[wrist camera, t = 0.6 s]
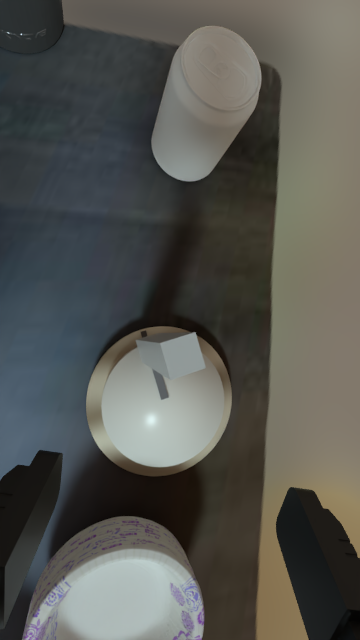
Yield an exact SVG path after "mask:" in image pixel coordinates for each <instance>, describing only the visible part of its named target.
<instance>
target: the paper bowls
mask: <svg viewBox="0 0 360 640" xmlns="http://www.w3.org/2000/svg"><path fill="white" fill-rule="evenodd" d="M203 628H204V605H203V599H202V594H201V590H200V587H199V585H198V582H197V580H196V578H195V576H194V573H193V570H192V568H191V566H190V564H189V561H188V559H187V556H186V554H185V552H184V550H183V548H182V547H181V545H180V544H179V542H178V540H177V539H176V538H175V537H174V535H173V534H172V533H171V532H170V531H168V530H167V529H166V528H165V527H164V526H161V525H160V524H158V523H155V522H154V521H151V520H148V519H144V518H141V517H134V516H120V517H114V518H110V519H106V520H104V521H101V522H98V523H96V524H94V525H92V526H89V527H88V528H86V529H84V530H82V531H81V532H79V533H78V534H76V535H75V536H73V537H72V538H71V539H70V540H69V541H67V542H66V543H65V544H64V545H63V547H61V548H60V549H59V550H58V552H57V553H56V554H55V555H54V556H53V557H52V559H51V560H50V561H49V563H48V564H47V566H46V567H45V569H44V571H43V573H42V574H41V576H40V578H39V580H38V583H37V585H36V588H35V591H34V594H33V596H32V600H31V603H30V607H29V612H28V615H27V620H26V625H25V629H24V633H23V638H22V640H202V636H203Z"/></svg>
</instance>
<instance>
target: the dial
mask: <svg viewBox="0 0 360 640" xmlns="http://www.w3.org/2000/svg"><path fill="white" fill-rule="evenodd" d="M136 344H137V347H136V348H134V349H132V350H131V351H129V352H128V353H126V354H125V355H124V356H123V357H122V358H121V359H120V360H119V361H118V362H117V363H116V365H115V366H114V367H113V369H112V370H111V372H110V373H109V376H108V378H107V380H106V382H105V385H104V389H103V394H102V404H101V408H102V418H103V423H104V427H105V429H106V432H107V434H108V436H109V438H110V440H111V441H112V443H113V444H114V445H115V447H116V448H117V449H118V450H119V451H120V452H121V453H122V454H123V455H125V456H126V457H127V458H129V459H131V460H132V461H134V462H136V463H139V464H142V465H145V466H150V467H169V466H174V465H177V464H180V463H183V462H185V461H187V460H189V459H191V458H193V457H194V456H196V455H197V454H198V453H199V452H201V451H202V450H203V449H204V448H205V447H206V446H207V445H208V444H209V442H210V441H211V440H212V438H213V437H214V435H215V433H216V431H217V430H218V427H219V425H220V422H221V419H222V415H223V410H224V390H223V385H222V381H221V378H220V376H219V374H218V372H217V370H216V368H215V366H214V365H213V363H212V362H211V361H210V360H209V359H208V358H207V356H205V355H204V354H203V353H202V352H201V350H200V346H199V343H198V339H197V336H196V332H180V333H156V334H153V335H150V336H146V337H143V338H140V339H137V340H136Z"/></svg>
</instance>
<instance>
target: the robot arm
mask: <svg viewBox="0 0 360 640" xmlns="http://www.w3.org/2000/svg"><path fill="white" fill-rule="evenodd" d="M63 23H64V21H63V10H62V0H0V47H2V48H4V49H7V50H9V51H13V52H17V53H26V54H31V53H38V52H41V51H44V50H46V49H48V48H50V47H51V46H52V45H54V44H55V42H56V41H57V40H58V39H59V37H60V35H61V33H62V30H63ZM62 459H63V454H62V453H57V452H50V451H43V450H39V451H38V453H37V454H36V456H35V457H34V459H33V461H32V463H31V464H30V466H24V465H17V466H16V467H15V468H13V469H12V470H11V471H9V472H8V473H7V474H6V475H4V476H3V478H2V479H1V481H0V629H4V628H5V626H6V623H7V621H8V618H9V616H10V614H11V611H12V609H13V606H14V604H15V602H16V599H17V597H18V594H19V592H20V590H21V587H22V585H23V582H24V580H25V578H26V575H27V573H28V570H29V568H30V566H31V563H32V561H33V558H34V556H35V554H36V551H37V549H38V546H39V544H40V542H41V539H42V537H43V534H44V532H45V529H46V527H47V525H48V522H49V520H50V517H51V515H52V513H53V510H54V508H55V505H56V502H57V499H58V495H59V490H60V482H61V471H62ZM276 532H277V538H278V541H279V544H280V548H281V551H282V554H283V558H284V561H285V564H286V567H287V571H288V574H289V577H290V580H291V584H292V587H293V590H294V593H295V596H296V600H297V603H298V606H299V609H300V613H301V616H302V619H303V622H304V625H305V629H306V632H307V635H308V638H309V640H360V558H358V557H357V553H356V551H355V549H354V547H353V545H352V544H350V540H349V538H348V536H347V534H346V532H345V530H344V528H343V526H342V524H341V523H340V522H339V521H338V520H337V519H336V517H335V516H334V515H333V514H332V513H331V512H330V511H329V510H328V509H324V508H323V507H322V506H321V503H320V501H319V499H318V497H317V495H316V494H315V492H314V491H312V490H307V489H300V488H294V487H291V488H289V490H288V491H287V494H286V497H285V499H284V502H283V504H282V507H281V509H280V512H279V515H278V517H277V522H276Z"/></svg>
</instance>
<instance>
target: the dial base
mask: <svg viewBox="0 0 360 640" xmlns="http://www.w3.org/2000/svg"><path fill="white" fill-rule="evenodd" d="M180 332H189V331H187V330H183V329H180V328H175V327H167V326H159V327H149V328H145V329H141V330H138V331H135V332H133V333H130V334H128V335H127V336H125V337H123V338H121V339H120V340H119V341H117V342H116V343H115V344H114V345H112V346H111V347H110V348H109V349H108V350H107V351H106V353H105V354H104V355H103V356H102V357H101V359H100V360H99V362H98V364H97V365H96V367H95V369H94V371H93V373H92V376H91V379H90V382H89V386H88V392H87V399H86V411H87V419H88V424H89V428H90V430H91V433H92V436H93V438H94V440H95V441H96V443H97V445H98V447H99V448H100V449H101V450H102V452H103V453H104V454H105V455H106V456H107V457H108V458H109V459H110V460H111V461H112V462H114V463H115V464H116V465H118V466H119V467H121V468H123V469H125V470H127V471H130V472H132V473H135V474H139V475H144V476H166V475H171V474H175V473H178V472H181V471H183V470H186V469H187V468H189V467H191V466H193V465H195V464H196V463H198V462H199V461H200V460H202V459H203V458H204V457H205V456H206V455H207V454H208V453H209V452H210V451H211V450H212V449H213V448H214V447H215V445H216V444H217V442H218V441H219V439H220V438H221V436H222V434H223V432H224V430H225V428H226V425H227V423H228V419H229V415H230V411H231V404H232V392H231V384H230V379H229V375H228V372H227V370H226V367H225V365H224V363H223V361H222V359H221V358H220V356H219V355H218V353H217V352H216V351H215V350H214V349H213V348H212V346H211V345H209V344H208V343H207V342H206V341H205V340H203V339H202V338H200V337H199V336H197V335H196V336H197V339H198V343H199V346H200V350H201V352H202V353H203V354H204V355H205V356H207V358H208V359H209V360H210V361H211V362H212V363H213V365H214V366H215V368H216V370H217V372H218V374H219V376H220V378H221V381H222V385H223V390H224V410H223V415H222V419H221V422H220V425H219V427H218V430H217V431H216V433H215V435H214V437H213V438H212V440H211V441H210V442H209V444H208V445H207V446H206V447H205V448H204V449H203V450H202V451H201V452H199V453H198V454H197V455H196V456H194V457H193V458H191V459H189V460H187V461H185V462H183V463H180V464H177V465H174V466H169V467H150V466H145V465H142V464H139V463H136V462H134V461H132V460H131V459H129V458H127V457H126V456H125V455H123V454H122V453H121V452H120V451H119V450H118V449H117V448H116V447H115V445H114V444H113V443H112V441H111V440H110V438H109V436H108V434H107V432H106V429H105V427H104V423H103V418H102V408H101V404H102V394H103V389H104V385H105V382H106V380H107V378H108V376H109V373H110V372H111V370H112V369H113V367H114V366H115V365H116V363H117V362H118V361H119V360H120V359H121V358H122V357H123V356H124V355H125V354H126V353H128V352H129V351H131V350H132V349H134V348H136V347H137V344H136V340H137V339H140V338H143V337H146V336H150V335H153V334H156V333H180Z"/></svg>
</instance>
